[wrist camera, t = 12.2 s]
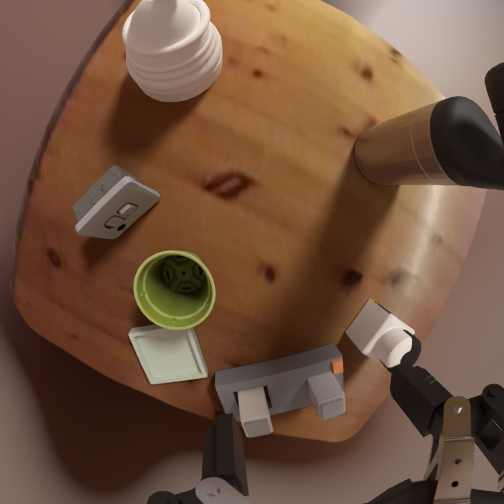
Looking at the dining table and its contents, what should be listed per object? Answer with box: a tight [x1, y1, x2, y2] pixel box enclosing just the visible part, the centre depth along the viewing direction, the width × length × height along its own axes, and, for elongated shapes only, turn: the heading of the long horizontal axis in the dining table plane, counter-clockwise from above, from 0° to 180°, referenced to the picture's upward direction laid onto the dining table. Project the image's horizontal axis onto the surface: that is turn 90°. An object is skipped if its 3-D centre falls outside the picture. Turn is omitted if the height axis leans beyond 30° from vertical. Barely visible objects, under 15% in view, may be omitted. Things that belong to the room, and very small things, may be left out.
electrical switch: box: [73, 165, 160, 239], centre depth 31 cm, size 9×5×9 cm, turn 127°
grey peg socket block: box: [215, 343, 345, 422], centre depth 38 cm, size 20×9×11 cm, turn 102°
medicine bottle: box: [345, 298, 421, 373], centre depth 37 cm, size 7×7×12 cm
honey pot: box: [122, 0, 222, 102], centre depth 23 cm, size 13×13×18 cm
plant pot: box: [134, 250, 215, 330], centre depth 34 cm, size 9×9×9 cm
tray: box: [128, 324, 208, 384], centre depth 39 cm, size 10×10×2 cm
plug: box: [238, 386, 273, 438], centre depth 37 cm, size 4×4×10 cm
